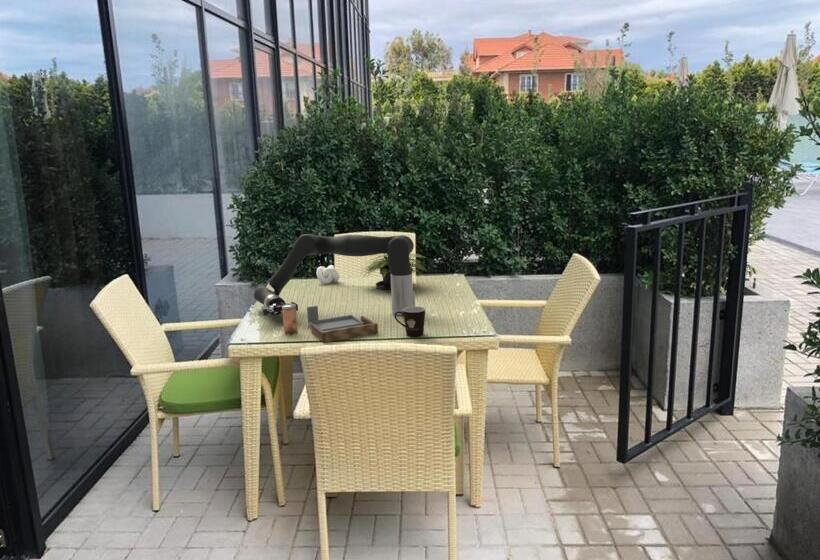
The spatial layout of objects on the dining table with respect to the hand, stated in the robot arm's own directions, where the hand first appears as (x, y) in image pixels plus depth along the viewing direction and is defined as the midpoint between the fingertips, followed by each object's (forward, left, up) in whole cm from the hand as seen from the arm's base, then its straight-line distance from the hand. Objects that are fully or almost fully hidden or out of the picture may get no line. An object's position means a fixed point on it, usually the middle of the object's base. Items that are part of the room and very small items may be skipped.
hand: (284, 312), depth 257 cm
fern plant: (-68, -42, -6) cm, 80 cm away
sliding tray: (-18, +11, -6) cm, 22 cm away
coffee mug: (-40, +36, -6) cm, 54 cm away
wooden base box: (-18, +21, -6) cm, 28 cm away
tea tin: (0, +9, -6) cm, 11 cm away
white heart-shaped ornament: (-43, -73, -6) cm, 84 cm away
